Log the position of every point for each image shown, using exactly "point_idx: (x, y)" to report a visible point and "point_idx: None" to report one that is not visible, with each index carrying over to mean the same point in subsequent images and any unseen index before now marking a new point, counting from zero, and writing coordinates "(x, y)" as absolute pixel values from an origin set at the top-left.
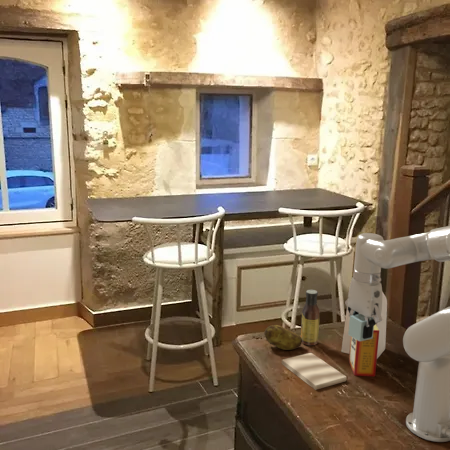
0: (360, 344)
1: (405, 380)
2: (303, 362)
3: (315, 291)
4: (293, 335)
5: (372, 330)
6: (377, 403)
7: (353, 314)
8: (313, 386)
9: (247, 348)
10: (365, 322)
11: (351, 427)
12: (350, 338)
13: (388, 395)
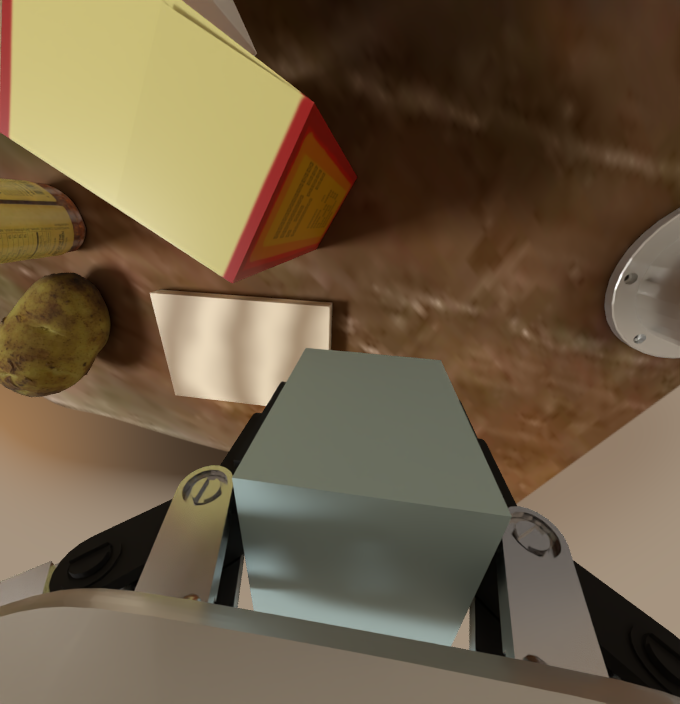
0: (283, 249)
1: (454, 58)
2: (205, 357)
3: None
4: (51, 316)
5: (500, 474)
6: (480, 316)
7: (238, 587)
8: None
9: (88, 404)
10: (475, 625)
11: (500, 446)
12: None
13: (476, 243)
